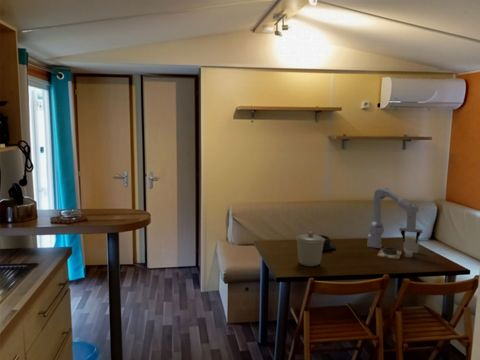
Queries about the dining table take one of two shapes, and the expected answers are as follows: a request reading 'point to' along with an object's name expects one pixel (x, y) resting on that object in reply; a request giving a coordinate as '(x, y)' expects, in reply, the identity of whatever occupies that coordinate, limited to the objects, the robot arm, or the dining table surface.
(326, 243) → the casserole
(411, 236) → the photo printer
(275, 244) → the dining table surface
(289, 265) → the dining table surface
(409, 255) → the white round cylinder
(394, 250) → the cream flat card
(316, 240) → the canister
